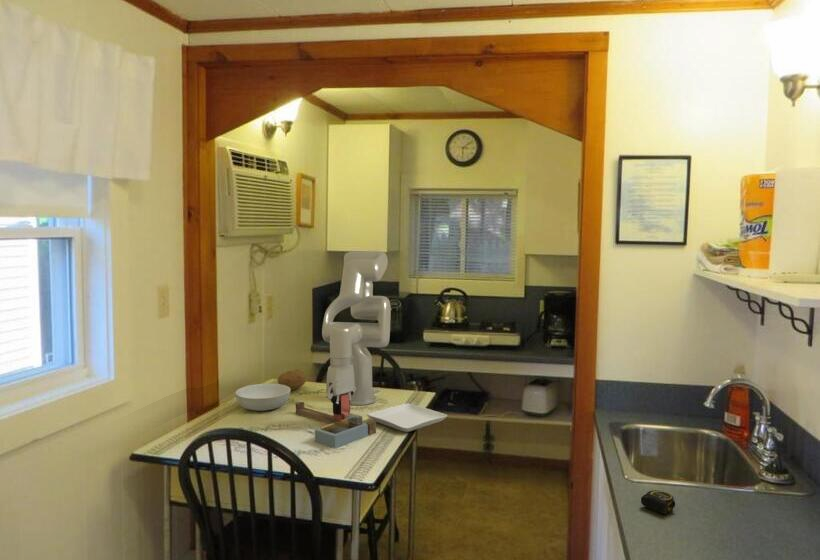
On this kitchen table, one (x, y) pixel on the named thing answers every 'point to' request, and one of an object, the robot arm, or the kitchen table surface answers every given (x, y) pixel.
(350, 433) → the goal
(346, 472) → the kitchen table surface
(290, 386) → the potato
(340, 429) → the puck
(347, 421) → the toy block assembly
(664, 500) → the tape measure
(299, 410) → the rail
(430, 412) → the salad plate
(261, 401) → the serving bowl
